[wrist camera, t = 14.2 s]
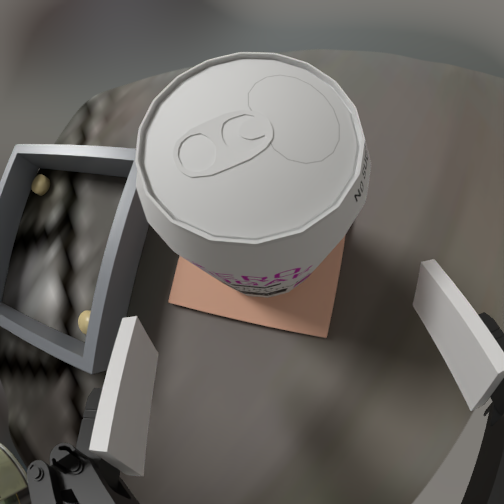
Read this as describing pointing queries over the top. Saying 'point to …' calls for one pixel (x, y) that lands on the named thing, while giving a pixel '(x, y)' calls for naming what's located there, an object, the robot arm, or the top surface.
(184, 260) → the terracotta tile
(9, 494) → the coffee can
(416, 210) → the top surface
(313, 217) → the supplement can
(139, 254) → the parts tub
